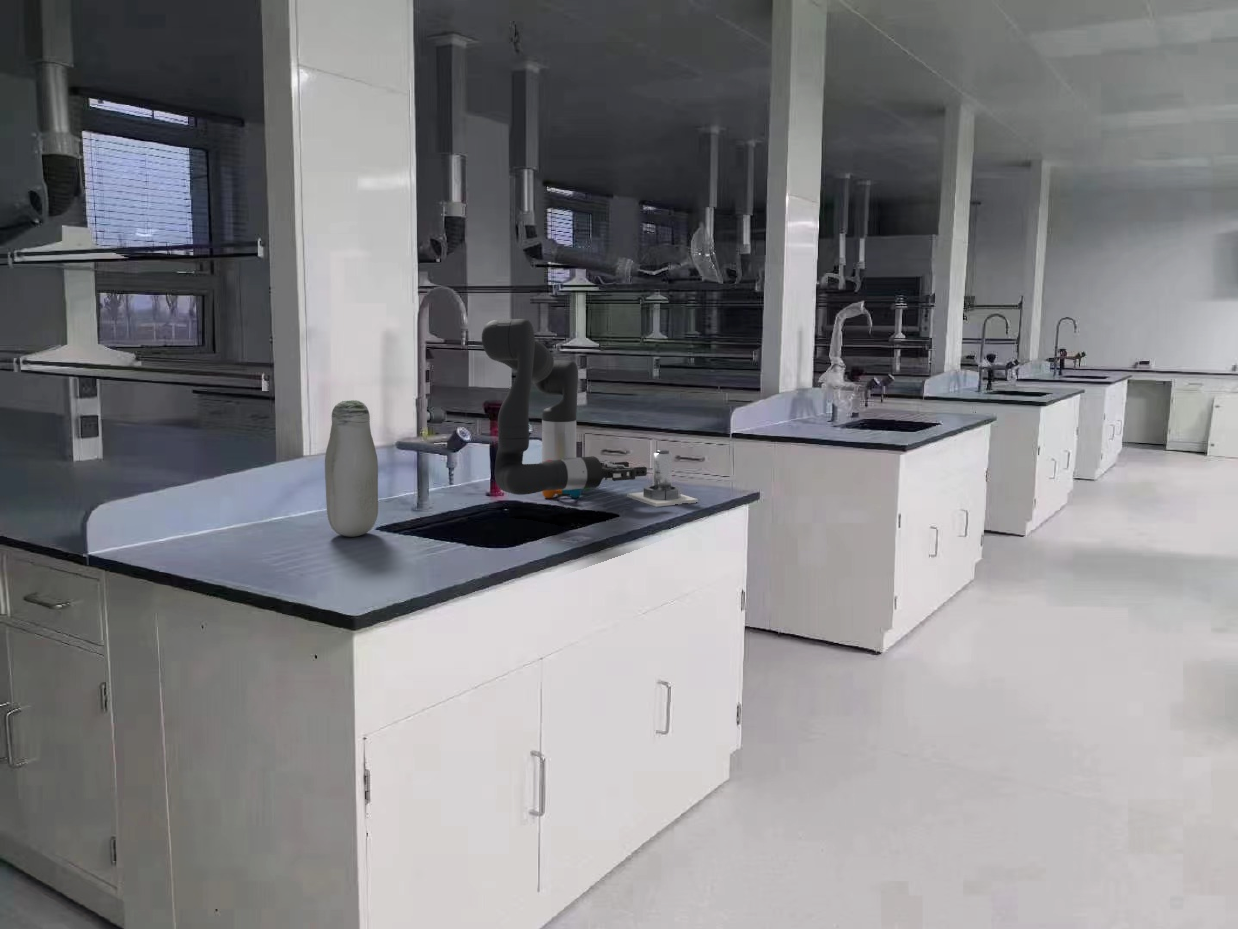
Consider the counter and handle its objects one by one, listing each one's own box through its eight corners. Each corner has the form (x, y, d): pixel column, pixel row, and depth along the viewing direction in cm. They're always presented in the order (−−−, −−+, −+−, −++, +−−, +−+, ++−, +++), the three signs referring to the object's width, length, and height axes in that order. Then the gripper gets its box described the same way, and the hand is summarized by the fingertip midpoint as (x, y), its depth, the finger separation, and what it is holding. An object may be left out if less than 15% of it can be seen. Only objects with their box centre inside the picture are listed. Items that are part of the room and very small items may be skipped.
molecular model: (593, 513, 245) (560, 483, 235) (560, 516, 251) (527, 487, 240) (601, 474, 251) (570, 444, 240) (569, 478, 256) (537, 449, 245)
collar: (638, 494, 244) (638, 486, 244) (667, 492, 249) (667, 483, 248) (656, 501, 237) (656, 492, 237) (686, 498, 241) (686, 489, 241)
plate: (627, 496, 246) (627, 493, 246) (667, 492, 252) (667, 489, 252) (656, 506, 234) (656, 503, 234) (697, 502, 240) (697, 499, 240)
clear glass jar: (649, 495, 244) (649, 450, 242) (664, 494, 246) (665, 448, 244) (658, 498, 240) (659, 452, 238) (674, 497, 242) (675, 451, 240)
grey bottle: (357, 542, 195) (353, 403, 190) (317, 537, 199) (312, 401, 195) (388, 532, 204) (385, 399, 199) (350, 527, 208) (345, 397, 203)
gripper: (592, 461, 223) (652, 457, 231) (564, 453, 235) (622, 449, 243) (592, 493, 224) (652, 488, 232) (564, 483, 237) (622, 479, 245)
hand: (636, 468), depth 238 cm, fingers open, 8 cm apart
